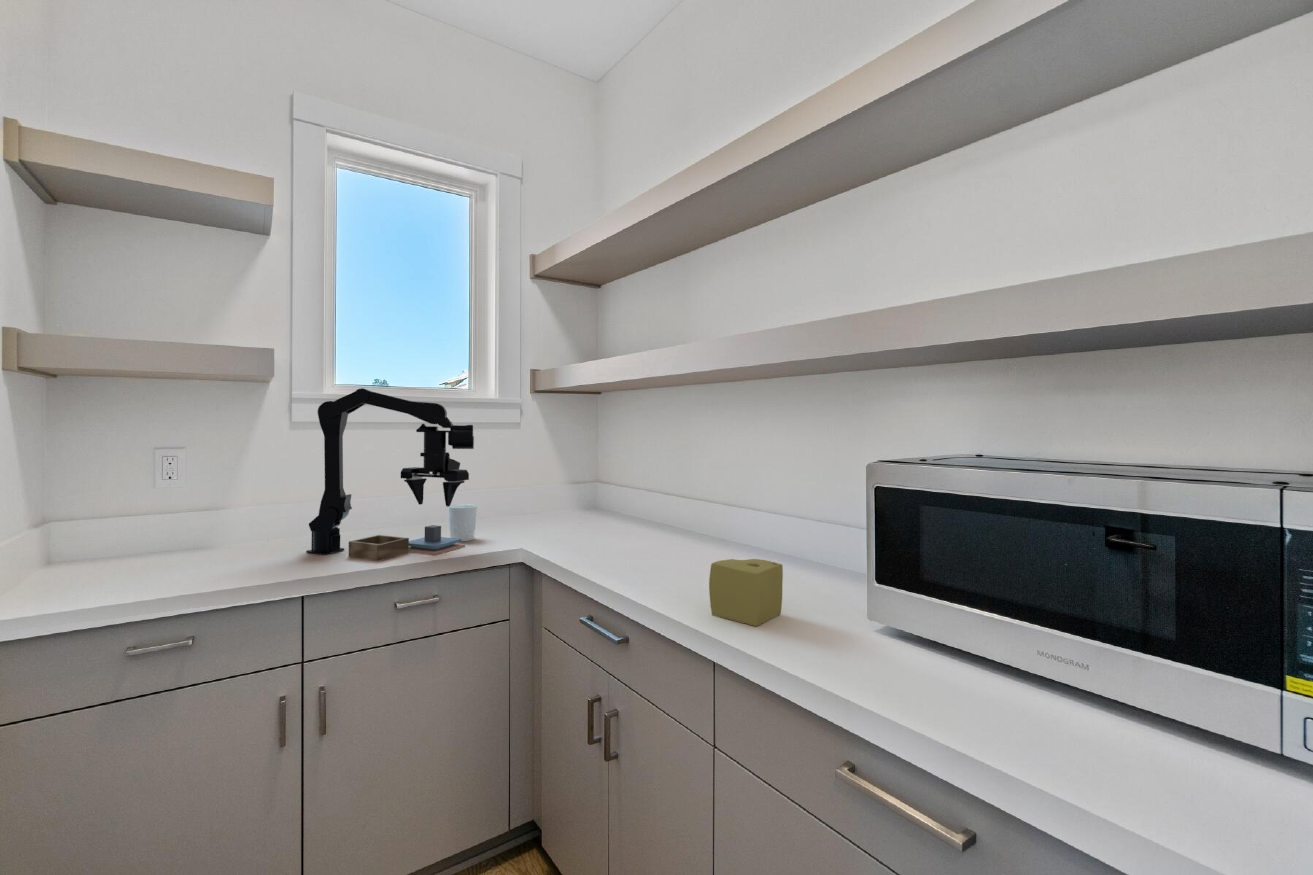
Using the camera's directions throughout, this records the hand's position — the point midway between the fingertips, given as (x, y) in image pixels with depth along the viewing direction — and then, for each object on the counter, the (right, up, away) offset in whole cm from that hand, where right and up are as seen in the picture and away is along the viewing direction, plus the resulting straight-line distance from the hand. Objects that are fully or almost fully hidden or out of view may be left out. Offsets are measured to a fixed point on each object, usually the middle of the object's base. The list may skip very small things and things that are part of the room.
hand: (434, 505), depth 161 cm
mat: (0, -12, 0) cm, 12 cm away
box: (-11, -12, -9) cm, 18 cm away
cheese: (+78, -15, -50) cm, 94 cm away
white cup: (+3, -12, +14) cm, 19 cm away
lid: (0, -11, 0) cm, 11 cm away
